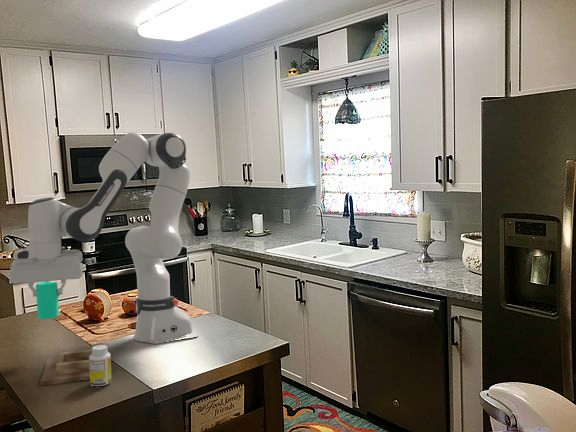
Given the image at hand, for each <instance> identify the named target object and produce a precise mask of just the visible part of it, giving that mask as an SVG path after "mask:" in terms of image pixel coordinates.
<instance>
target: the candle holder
mask: <svg viewBox="0 0 576 432" xmlns="http://www.w3.org/2000/svg"><path fill="white" fill-rule="evenodd" d="M91 354H92V349H86V350H74V351H66V352H65V351H64V352H59V353H58V355H57V358H49V359H46V362H45V363H46V364H45V366H44V369H43V372H42V374H41V379H40V383H39V384H40V387H41V386H49V385H57V384H67V383H74V382H73V381H76V382H80V381H79V380H84V381H86V380H85V379H90V371H89V356H90V355H91Z"/></svg>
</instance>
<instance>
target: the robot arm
mask: <svg viewBox="0 0 576 432" xmlns="http://www.w3.org/2000/svg"><path fill="white" fill-rule="evenodd" d="M186 153H187V146H186V143H185V140H184V139H183V137H182V136H181V135H179V134H176V133H174V132H165V133H160V134H155V135H154V136H152V137H149V138H145V137H144V136H143V135H141V134H139V133H137V132H132V131H131V132H128V133H126V134H125V135H124V136H122V137H120V139H119V140H117V142H116V143H114V144H113V145H112V147H111V148H110V149H109V150H108V151H107V153H106V154H105V155H104V157H103V158H102V160H101V161H100V163H99V166H98V173H99V175H100V177H101V179H102V181H101V184H100V186H99V187H98V189H97V191H96V192H95V193H94V194H93V196H92V197H91V198H90V200H89V202H88V203H87V204H86V205H84V206H82V207H75V206H72V205H69V204H67V203H63V202H62V201H60V200H58V199H57V198H56V197H45V198H39V199H35V200H33V201H32V202H30V204H29V207H28V213H27V214H28V215H27V223H28V225H27V228H28V231H29V234H30V235H29V236H30V237H29V240H28V241H29V242H28V243H29V245H28V246H26V247H22V248H20V249H17V250H16V251H14V252H13V255H12V257H13V261H12V262H11V264H10V267H9V268H10V270H9V281H10V282H11V283H12V284H13V285H15V284H25V283H26V284H28V285H27V286H28V288H29V289H30V290H31V291H32V297H33V298H34V297H36V298H37V291H36V287H34V285H35V283H42V282H46V281H49V282H57V281H60V284H62V285H61V286H60V287H57V292H58V293H57V294H58V296H59V295H63V294H64V290H63V289H64V287H65V285H66V283H67V281H68V280H79V279H81V278H82V276H83V269H82V268H83V267H82V262H83V259H84V258H83V253H82V251H80V250H78V249H77V248H73V249H62V237H67V238H70V239H74V240H76V241H78V242H82V243H83V242H85V243H87V242H90V241H93V240H94V239H96V238H97V237H98V236H99V235H100V233H101V232H102V231H103V230H102V229H103V226H104V222H105V219H106V217H107V216H108V213H109V212H110V210H112V209H111V208H112V207H113V206H114V204H115V202H116V201H117V200H118V198H119V197H120V195H121V194H122V192H123V191H124V189H125V187H126V185H127V184H128V182H130V180H131V179H132V178H133V176H134V175H135V174H136V172H138V170H139V169H140V167H141V165H142V164H143V165H145V166H148V167H151V168H158V172H159V175H158V179H157V182H156V185H155V187H154V190H153V192H152V196H151V198H150V201H149V204H148V209H149V211H150V216H151V217H150V225H149V226H148V225H140V226H136V227H134V228H131V229H130V230H128V232H127V233H126V235H125V240H124V242H125V247H126V248H127V249H126V250H128V251H129V253H130V255H131V259H132V262H133V265H134V269H135V273H136V287H137V288H136V289H137V297H136V299H135V300H136V301H135V308H136V309H135V311H136V312H135V313H136V314H137V317H136V325H135V330H134V334H133V340H135V341H138V342H141V343H148V344H149V343H150V344H153V345H159V344H158V343H161V344H164V343H163V342H167V341H171V340H175V339H179V338H183V337H186V336H185V335H187V334H191V333H192V332H193V326H194V325H193V322H192V318H191V317H190V315H189V314H188V313H187V312H185V311H184V310H182V309H181V308H179V307H178V306H177V305H178V304H179V300H178V298H176V297H174V296H173V295H171V289H170V288H171V285H170V281H171V280H170V279H171V277H170V276H171V275H170V273H169V271H168V270H167V268H166V266H165V264H164V261H166V260H171V259H174V258H176V257H178V255H180V254H181V250H182V248H183V241H182V237H181V235H180V233H179V232H180V231H179V224H180V223H179V221H180V215H181V211H182V209H183V204H184V203H185V199H186V195H187V192H188V189H189V185H190V178H191V170H190V168H189V167H188V166H187V164H185V163H186V160H187V157H186V156H187V155H186ZM182 336H183V337H182ZM167 343H168V342H167Z"/></svg>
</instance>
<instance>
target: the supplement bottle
mask: <svg viewBox="0 0 576 432" xmlns="http://www.w3.org/2000/svg"><path fill="white" fill-rule="evenodd" d="M91 350H92V354H91V355H90V356H89V371H90V380H89V384H90V386H91V387H93V386H103V385H106V384H108V383H110V382H111V383H112V357H111V352H109V351H108V345H107V344H106V345H105V344H99V345H94V346H93V347H91ZM111 383H110V384H111Z"/></svg>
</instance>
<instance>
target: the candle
mask: <svg viewBox="0 0 576 432" xmlns="http://www.w3.org/2000/svg"><path fill="white" fill-rule="evenodd" d="M35 289H36V291H37V296H36V309H37V318H38V319H39V320H50V319H55V318H57V317H59V315H60V311H59V295H58V294H57V293H58V292H57V289H58V283H57V281H43V282H37V284H35Z"/></svg>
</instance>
